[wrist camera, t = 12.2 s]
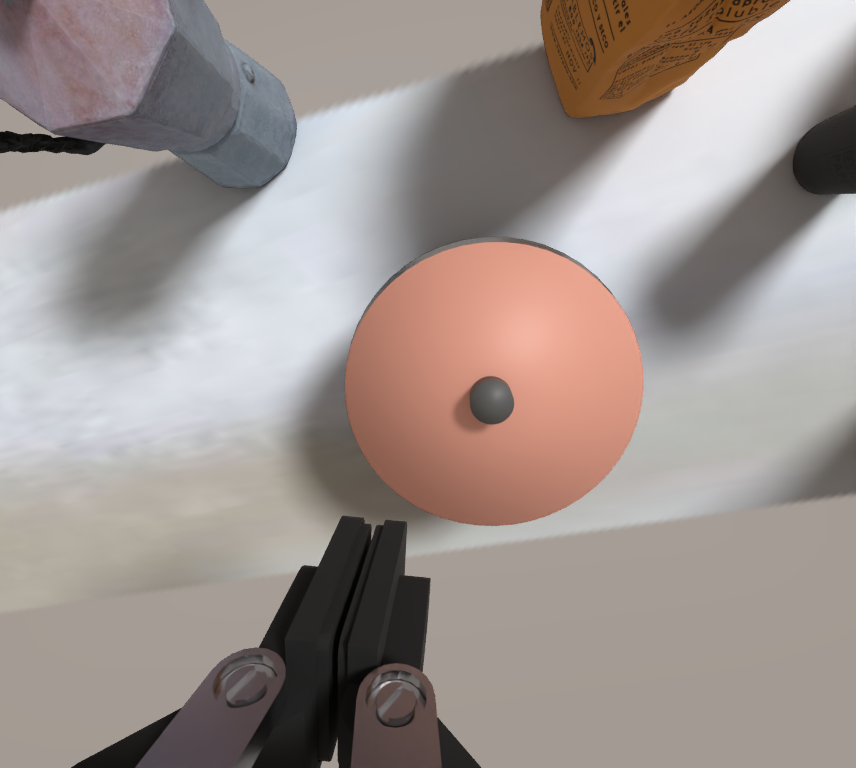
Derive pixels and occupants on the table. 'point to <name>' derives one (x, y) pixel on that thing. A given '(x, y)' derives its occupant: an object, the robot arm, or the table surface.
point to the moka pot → (142, 86)
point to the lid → (494, 383)
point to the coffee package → (636, 46)
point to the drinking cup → (828, 156)
